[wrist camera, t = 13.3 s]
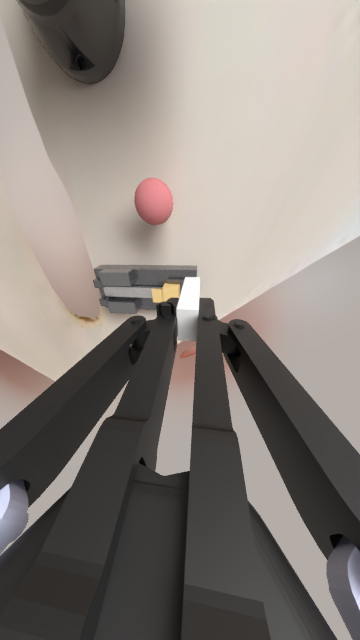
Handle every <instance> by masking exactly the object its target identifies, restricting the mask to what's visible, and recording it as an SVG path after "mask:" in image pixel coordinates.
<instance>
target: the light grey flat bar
mask: <svg viewBox="0 0 360 640" xmlns="http://www.w3.org/2000/svg"><path fill="white" fill-rule="evenodd" d="M162 288H163V287H149V286H105V287H104V288H103V289H104V292H105V295H106V296H110V297H136V298H153V297H152V289H162Z"/></svg>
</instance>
